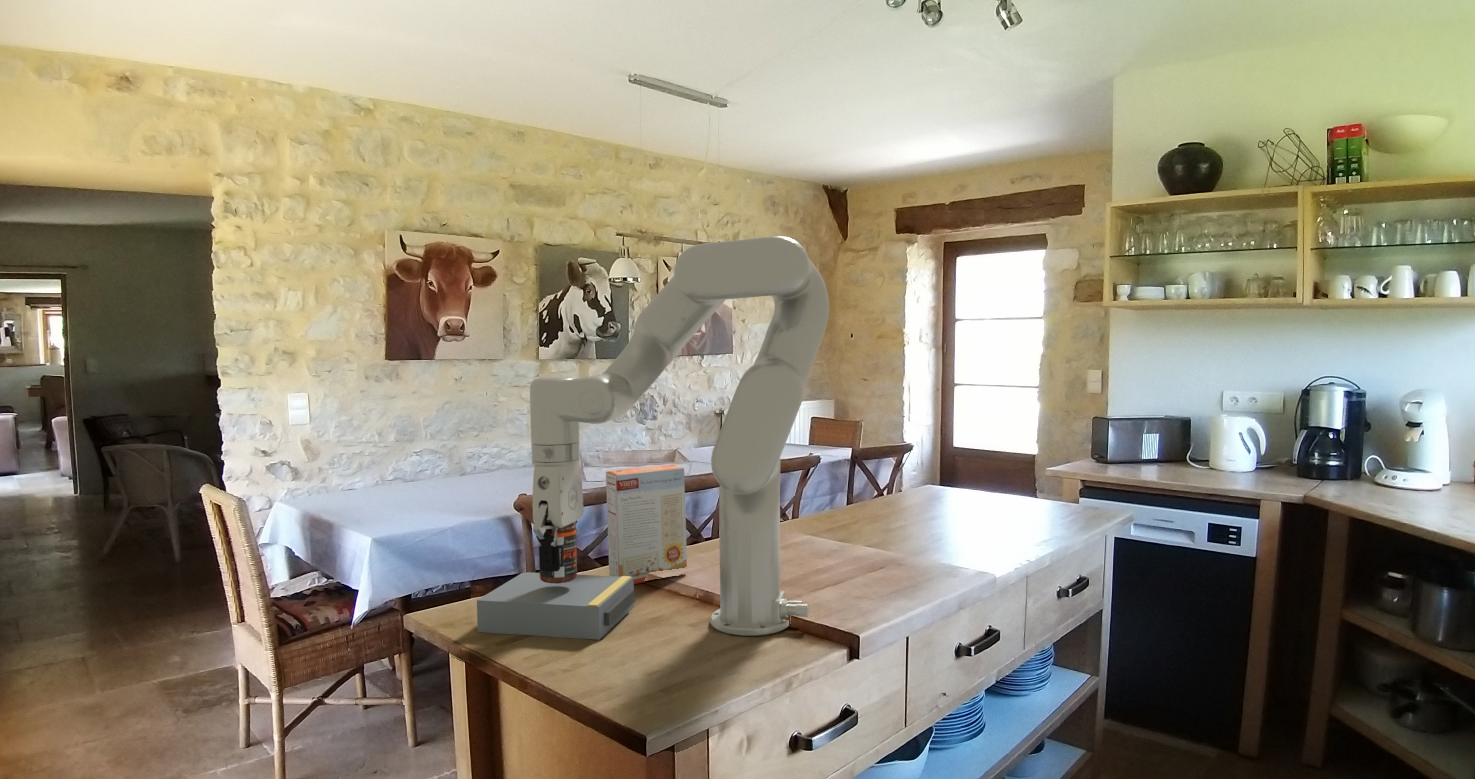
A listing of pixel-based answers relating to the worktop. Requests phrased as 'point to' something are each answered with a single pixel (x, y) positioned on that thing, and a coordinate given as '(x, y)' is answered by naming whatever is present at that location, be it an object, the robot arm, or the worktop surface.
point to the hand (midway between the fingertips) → (558, 563)
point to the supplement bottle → (563, 556)
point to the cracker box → (646, 520)
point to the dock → (556, 606)
